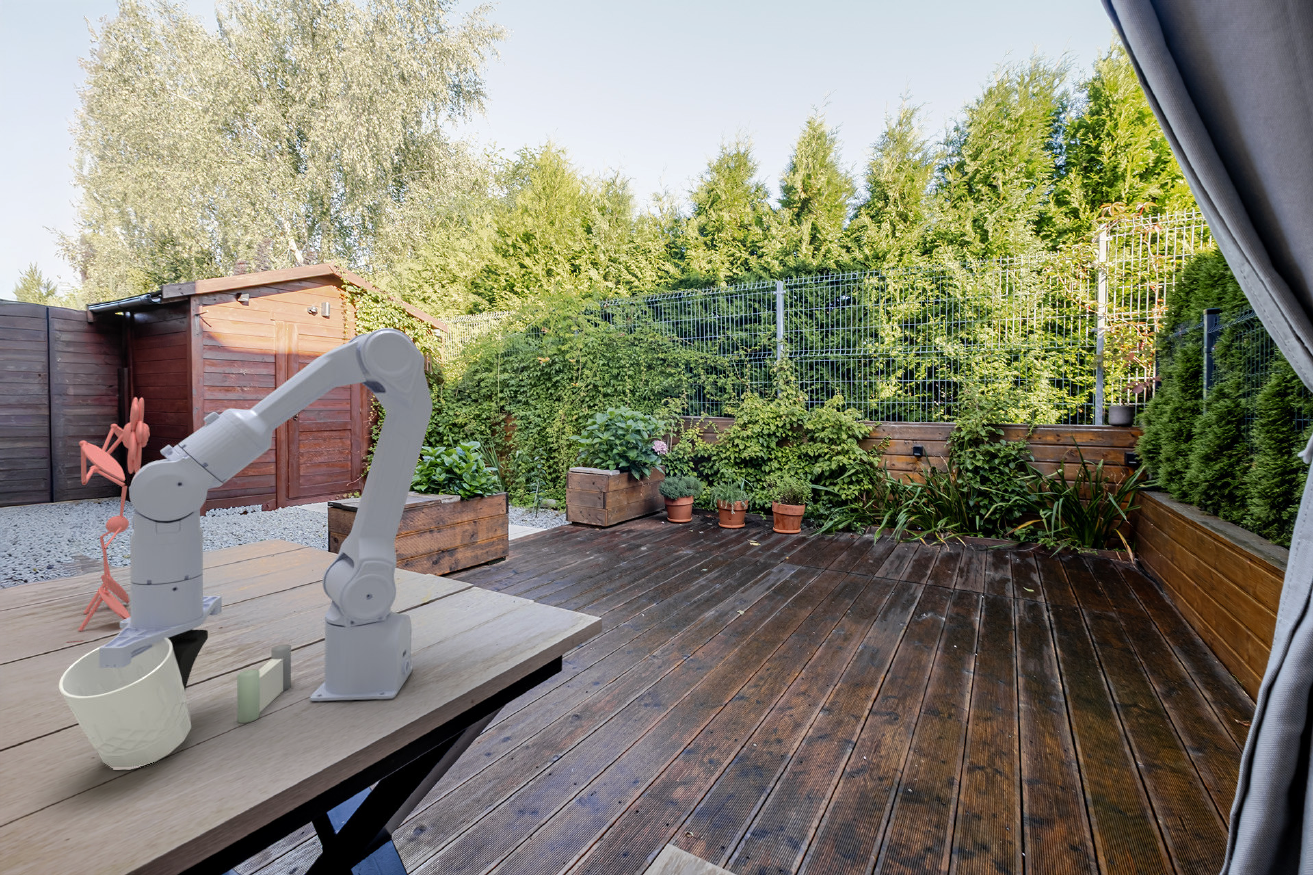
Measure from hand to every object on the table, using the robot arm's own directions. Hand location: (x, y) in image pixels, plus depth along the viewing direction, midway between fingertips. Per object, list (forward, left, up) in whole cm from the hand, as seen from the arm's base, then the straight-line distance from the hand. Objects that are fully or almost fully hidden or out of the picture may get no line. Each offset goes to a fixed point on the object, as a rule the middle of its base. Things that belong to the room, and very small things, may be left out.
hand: (167, 705), depth 60 cm
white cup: (0, +3, -2) cm, 4 cm away
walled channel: (0, -6, -3) cm, 7 cm away
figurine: (+28, -37, -3) cm, 46 cm away
